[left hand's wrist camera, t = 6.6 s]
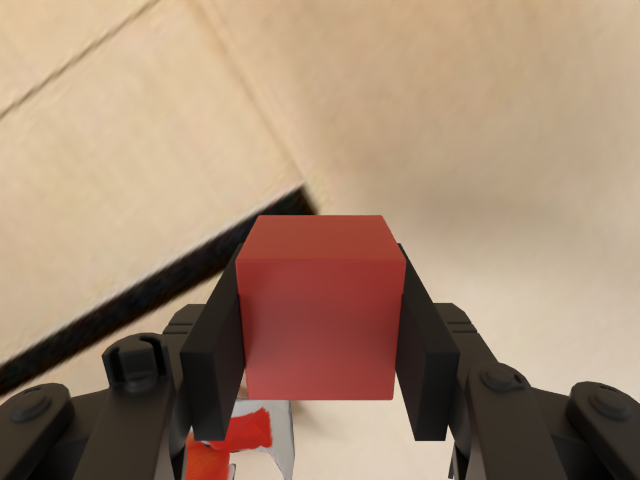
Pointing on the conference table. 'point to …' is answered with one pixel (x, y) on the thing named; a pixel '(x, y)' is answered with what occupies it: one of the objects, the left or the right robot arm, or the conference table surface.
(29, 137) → the conference table surface
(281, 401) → the fish
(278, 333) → the block
